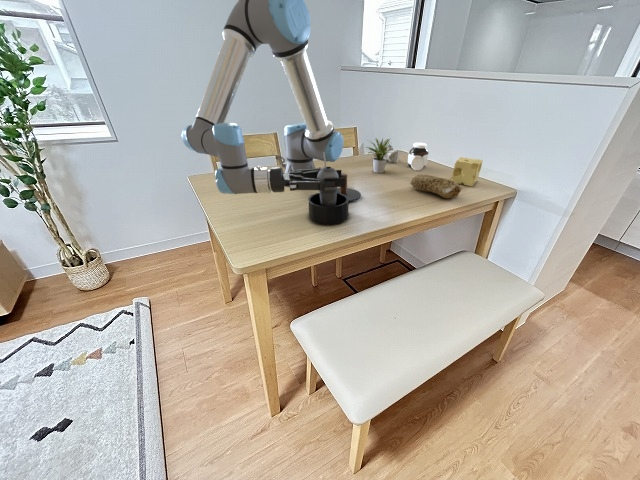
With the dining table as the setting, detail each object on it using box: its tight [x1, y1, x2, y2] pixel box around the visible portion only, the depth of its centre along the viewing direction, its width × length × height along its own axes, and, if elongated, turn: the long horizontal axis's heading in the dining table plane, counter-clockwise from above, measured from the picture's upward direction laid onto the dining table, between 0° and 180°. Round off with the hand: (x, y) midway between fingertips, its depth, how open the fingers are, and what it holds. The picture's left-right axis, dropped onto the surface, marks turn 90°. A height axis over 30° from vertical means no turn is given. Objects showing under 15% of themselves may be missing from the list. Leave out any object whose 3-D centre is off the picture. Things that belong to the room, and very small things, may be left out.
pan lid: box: [337, 172, 362, 203], centre depth 110 cm, size 14×14×9 cm
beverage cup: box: [317, 152, 339, 206], centre depth 90 cm, size 7×7×20 cm
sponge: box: [410, 174, 462, 199], centre depth 117 cm, size 13×8×20 cm
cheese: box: [450, 156, 484, 187], centre depth 129 cm, size 10×11×10 cm
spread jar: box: [407, 142, 429, 171], centre depth 145 cm, size 12×11×12 cm
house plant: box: [365, 137, 392, 174], centre depth 138 cm, size 14×14×16 cm
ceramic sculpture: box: [373, 145, 400, 164], centre depth 156 cm, size 11×9×15 cm
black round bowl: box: [307, 192, 350, 226], centre depth 95 cm, size 13×13×6 cm
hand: (343, 178), depth 90 cm, fingers closed on beverage cup, 7 cm apart
